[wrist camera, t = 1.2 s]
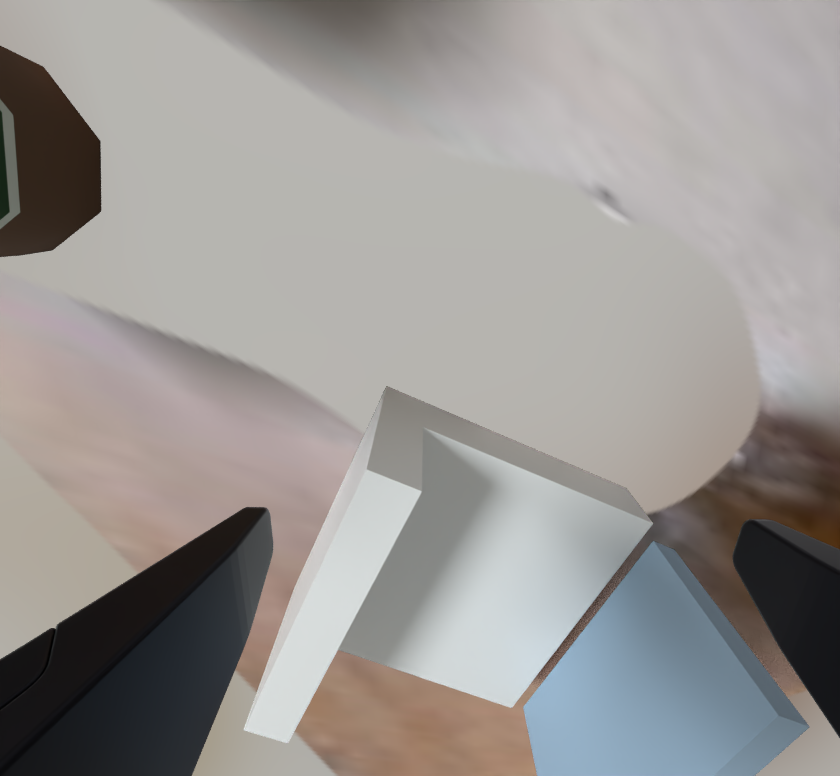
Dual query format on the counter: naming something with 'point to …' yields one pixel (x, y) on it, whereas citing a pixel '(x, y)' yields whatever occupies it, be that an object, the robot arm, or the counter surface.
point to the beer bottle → (42, 161)
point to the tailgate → (659, 688)
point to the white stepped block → (446, 562)
